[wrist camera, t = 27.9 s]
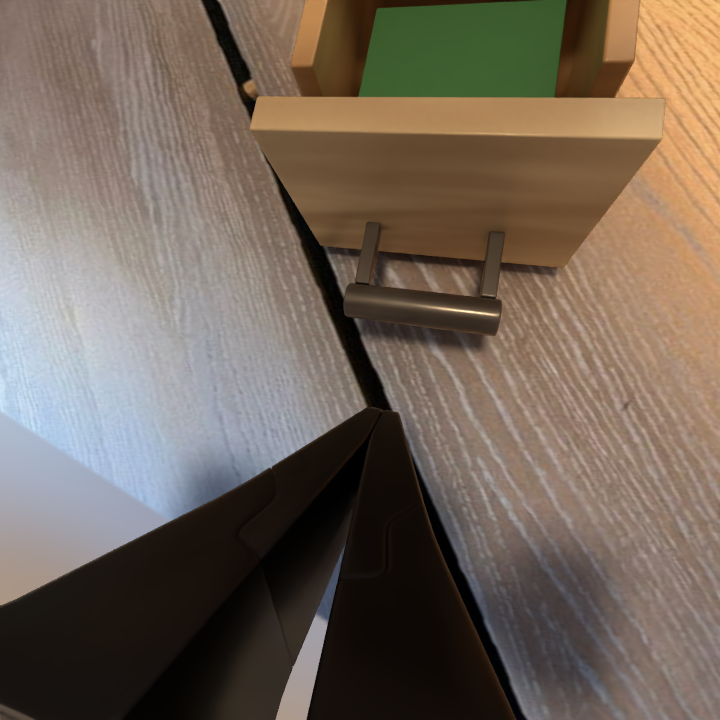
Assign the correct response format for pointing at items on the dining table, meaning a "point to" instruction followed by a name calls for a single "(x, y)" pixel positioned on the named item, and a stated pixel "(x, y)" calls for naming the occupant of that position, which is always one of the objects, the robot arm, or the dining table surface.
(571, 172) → the drawer
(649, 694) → the dining table surface
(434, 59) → the sponge
